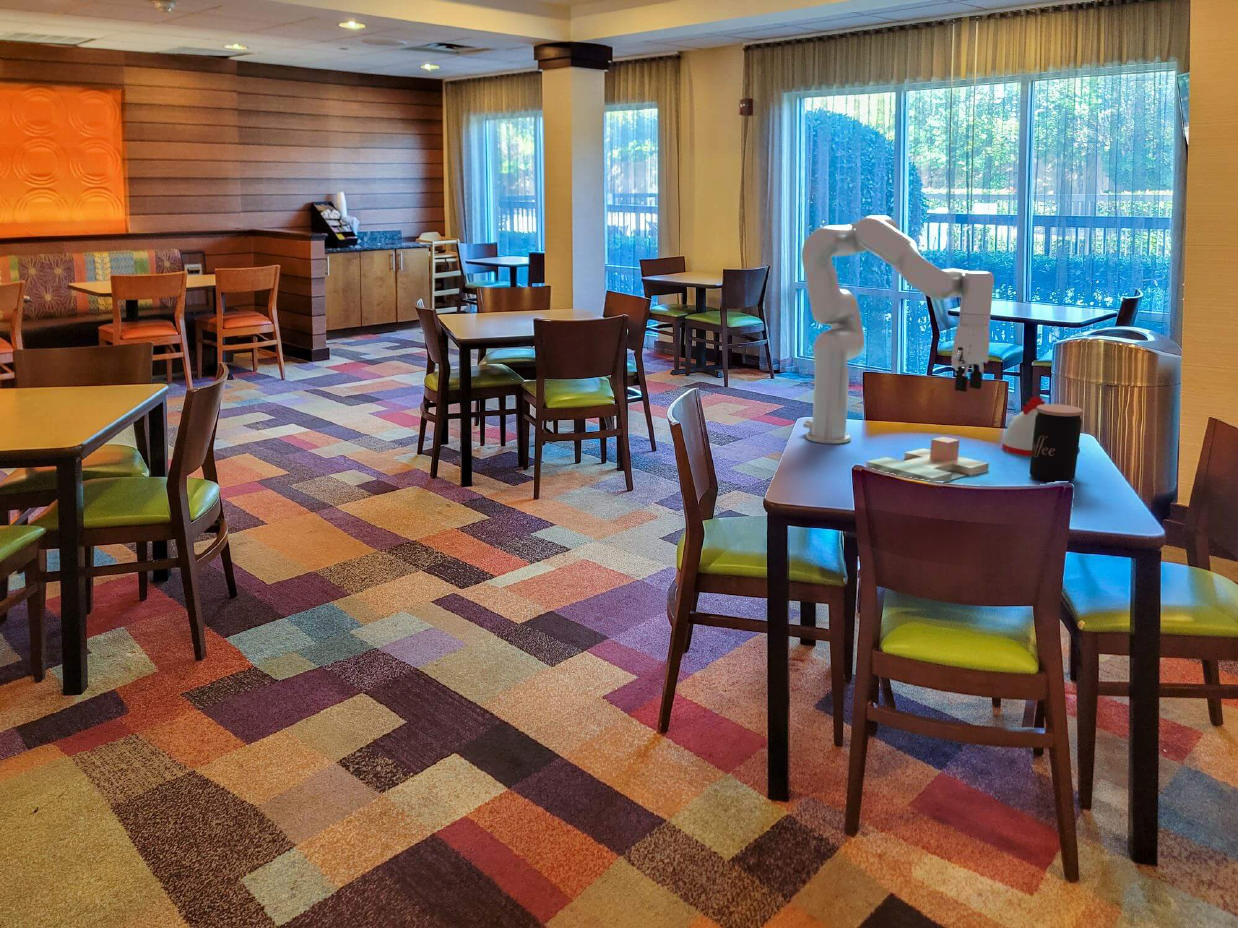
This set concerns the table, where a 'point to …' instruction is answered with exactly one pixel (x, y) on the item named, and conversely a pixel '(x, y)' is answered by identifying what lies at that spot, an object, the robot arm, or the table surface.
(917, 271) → the robot arm
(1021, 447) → the kitchen timer
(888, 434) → the table surface
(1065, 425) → the coffee jar
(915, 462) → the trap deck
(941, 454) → the block
